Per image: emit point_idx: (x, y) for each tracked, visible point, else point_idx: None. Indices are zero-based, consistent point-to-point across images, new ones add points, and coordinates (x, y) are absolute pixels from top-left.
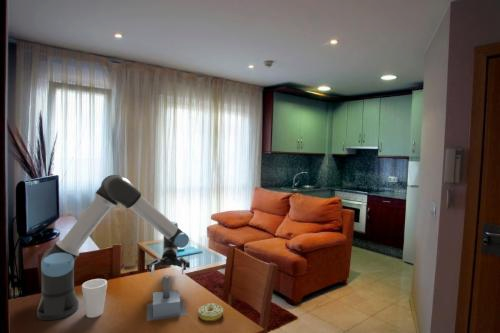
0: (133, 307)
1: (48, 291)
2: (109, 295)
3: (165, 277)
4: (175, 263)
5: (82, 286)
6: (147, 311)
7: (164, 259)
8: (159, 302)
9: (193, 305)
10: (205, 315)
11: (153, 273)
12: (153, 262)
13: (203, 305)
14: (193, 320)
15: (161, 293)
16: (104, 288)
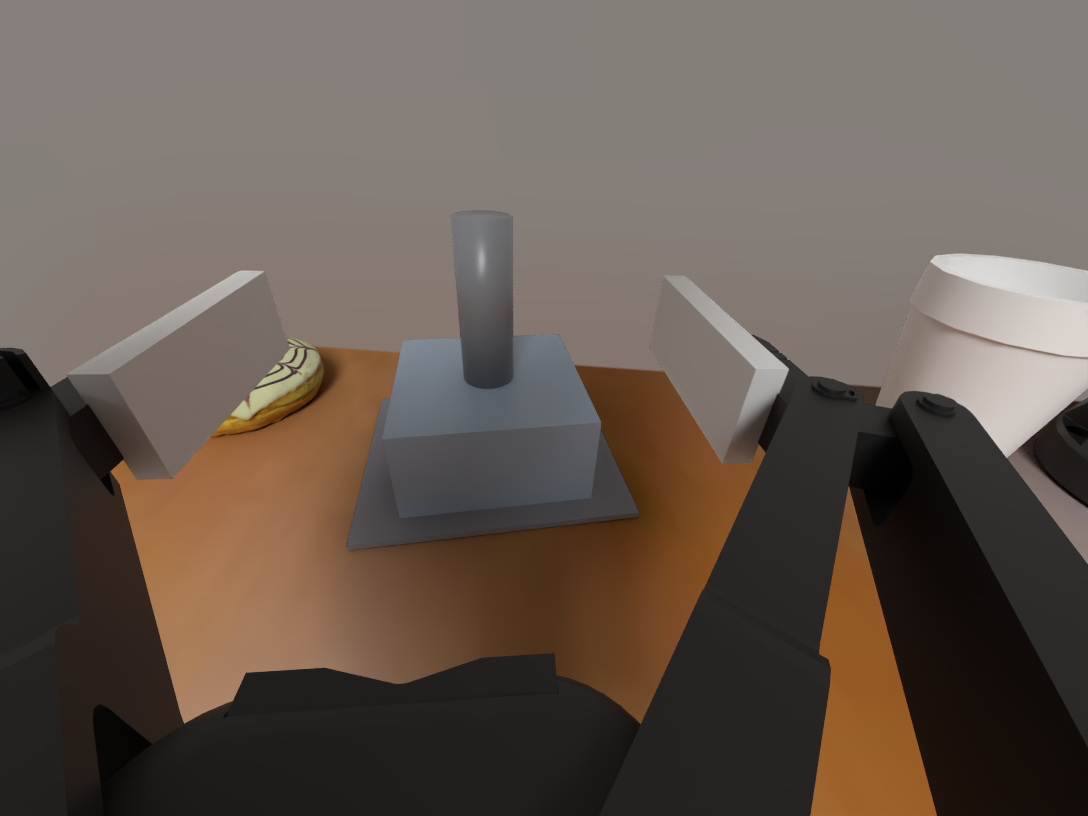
0: (721, 498)
1: None
2: None
3: (490, 214)
4: (151, 697)
5: (1063, 266)
6: (602, 441)
7: (636, 737)
8: (526, 344)
9: (297, 484)
10: (300, 340)
11: (674, 384)
12: (964, 565)
13: (261, 385)
14: (358, 381)
15: (528, 409)
16: (922, 294)
